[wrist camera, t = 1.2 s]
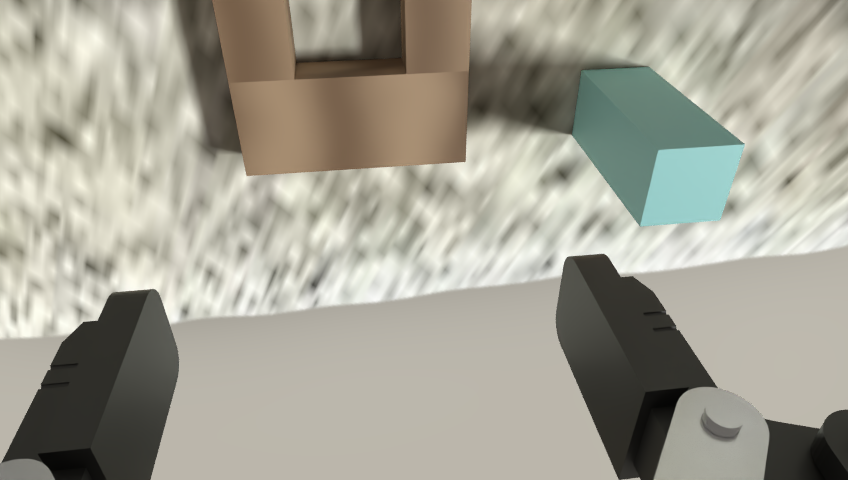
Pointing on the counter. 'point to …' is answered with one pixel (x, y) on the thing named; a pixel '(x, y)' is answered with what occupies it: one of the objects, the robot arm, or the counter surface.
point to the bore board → (347, 92)
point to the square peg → (655, 146)
